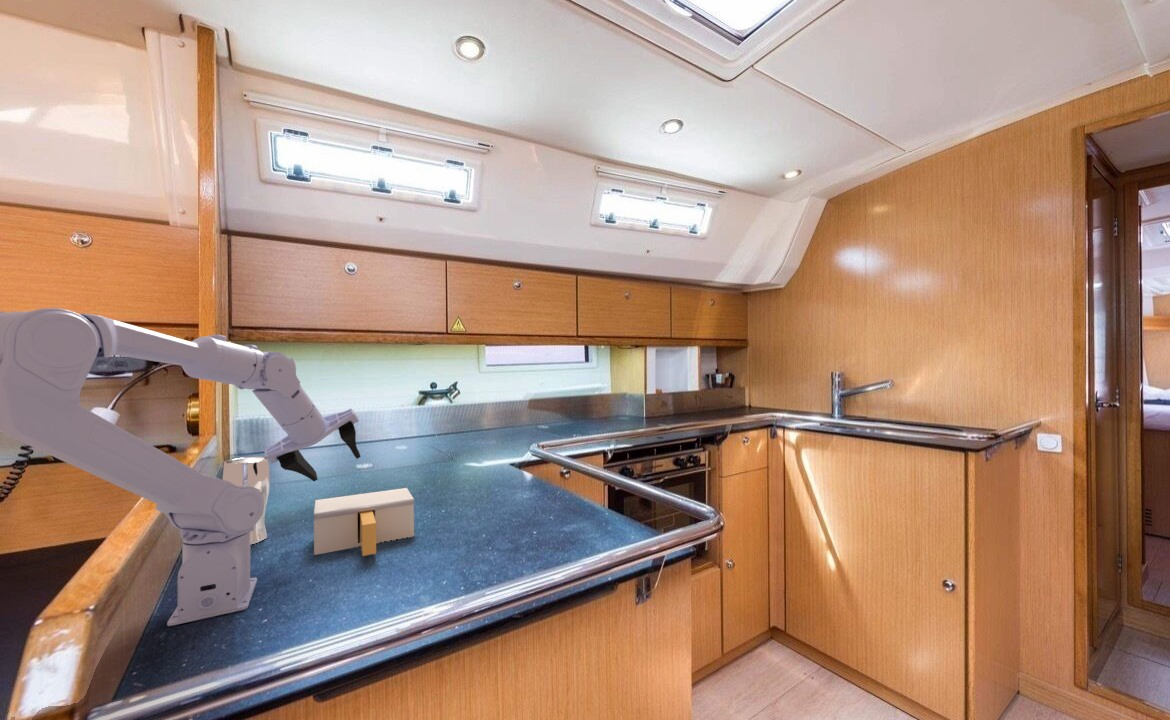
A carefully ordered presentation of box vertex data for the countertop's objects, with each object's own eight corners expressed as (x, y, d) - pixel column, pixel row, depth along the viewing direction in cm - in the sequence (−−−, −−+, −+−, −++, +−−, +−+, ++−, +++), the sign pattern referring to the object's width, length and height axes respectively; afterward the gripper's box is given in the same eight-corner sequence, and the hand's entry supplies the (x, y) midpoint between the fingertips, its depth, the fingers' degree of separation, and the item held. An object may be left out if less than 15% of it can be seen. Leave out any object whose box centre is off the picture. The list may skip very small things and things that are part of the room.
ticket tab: (376, 553, 74) (376, 522, 74) (362, 556, 73) (362, 525, 73) (370, 527, 86) (369, 501, 86) (358, 529, 85) (358, 502, 85)
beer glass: (214, 545, 81) (214, 461, 81) (257, 532, 87) (257, 454, 87) (234, 552, 78) (234, 465, 78) (277, 538, 84) (277, 457, 84)
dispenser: (414, 537, 83) (414, 499, 84) (313, 556, 76) (313, 514, 76) (407, 522, 92) (406, 487, 92) (315, 537, 84) (315, 500, 84)
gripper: (337, 381, 80) (371, 433, 88) (247, 421, 74) (293, 473, 83) (343, 401, 75) (379, 454, 83) (248, 446, 69) (296, 498, 77)
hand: (336, 465), depth 82 cm, fingers open, 7 cm apart
